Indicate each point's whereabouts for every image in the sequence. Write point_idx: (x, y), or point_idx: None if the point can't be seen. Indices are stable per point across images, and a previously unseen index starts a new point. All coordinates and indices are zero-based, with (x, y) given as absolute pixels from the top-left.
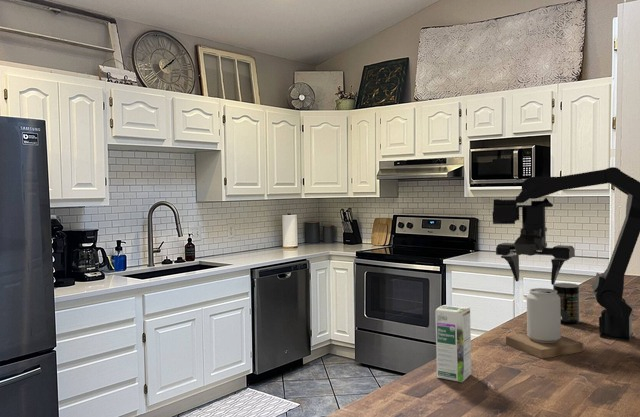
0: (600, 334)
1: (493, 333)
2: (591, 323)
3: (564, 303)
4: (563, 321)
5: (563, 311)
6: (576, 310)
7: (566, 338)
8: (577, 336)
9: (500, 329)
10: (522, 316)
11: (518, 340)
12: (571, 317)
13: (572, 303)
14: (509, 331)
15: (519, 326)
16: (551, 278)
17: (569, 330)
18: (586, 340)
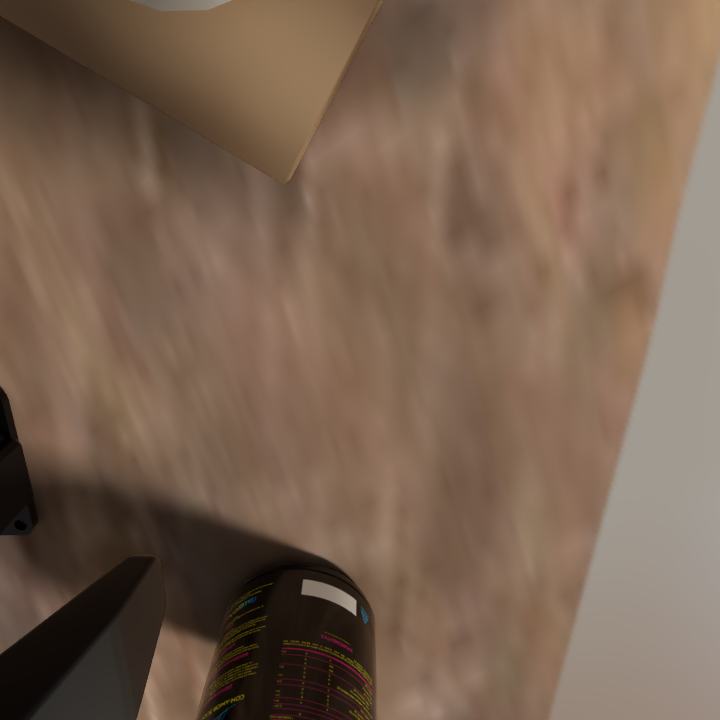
0: (2, 413)
1: (677, 83)
2: (174, 643)
3: (269, 677)
4: (295, 569)
5: (285, 622)
6: (211, 665)
7: (36, 12)
8: (126, 344)
9: (646, 233)
10: (571, 608)
11: None
12: (244, 603)
13: (215, 695)
14: (570, 215)
15: (534, 383)
16: (100, 628)
17: (220, 452)
18: (40, 280)
